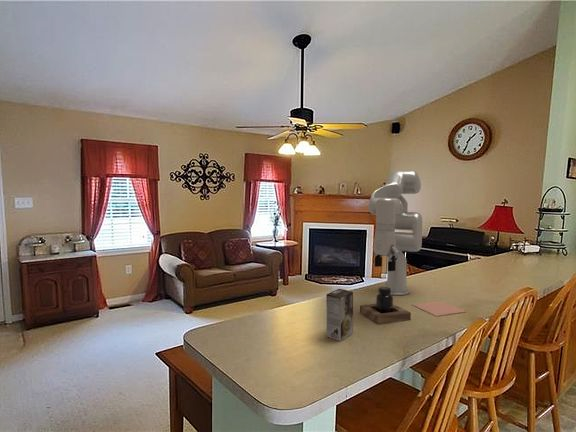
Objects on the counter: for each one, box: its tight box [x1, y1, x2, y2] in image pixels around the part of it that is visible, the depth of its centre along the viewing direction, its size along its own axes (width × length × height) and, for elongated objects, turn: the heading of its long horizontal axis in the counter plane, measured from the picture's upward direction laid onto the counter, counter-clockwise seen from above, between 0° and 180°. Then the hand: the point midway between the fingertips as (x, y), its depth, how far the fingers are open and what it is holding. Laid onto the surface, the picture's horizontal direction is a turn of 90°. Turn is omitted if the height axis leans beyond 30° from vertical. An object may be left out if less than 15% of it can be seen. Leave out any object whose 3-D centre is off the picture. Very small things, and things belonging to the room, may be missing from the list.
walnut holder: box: [359, 303, 412, 325], centre depth 149 cm, size 15×15×3 cm
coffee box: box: [326, 288, 354, 342], centre depth 129 cm, size 9×6×16 cm
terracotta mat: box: [411, 300, 467, 317], centre depth 158 cm, size 16×16×1 cm
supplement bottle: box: [375, 286, 394, 314], centre depth 149 cm, size 7×7×12 cm
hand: (384, 268), depth 147 cm, fingers open, 9 cm apart
